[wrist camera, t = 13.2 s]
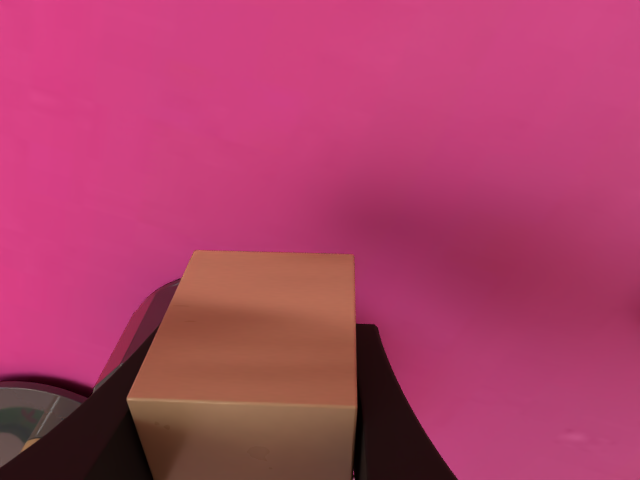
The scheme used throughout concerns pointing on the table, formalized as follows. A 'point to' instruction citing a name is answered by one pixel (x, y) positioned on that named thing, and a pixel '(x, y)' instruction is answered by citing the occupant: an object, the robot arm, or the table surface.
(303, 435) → the block
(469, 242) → the table surface
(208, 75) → the table surface
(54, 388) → the lid
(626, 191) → the table surface
